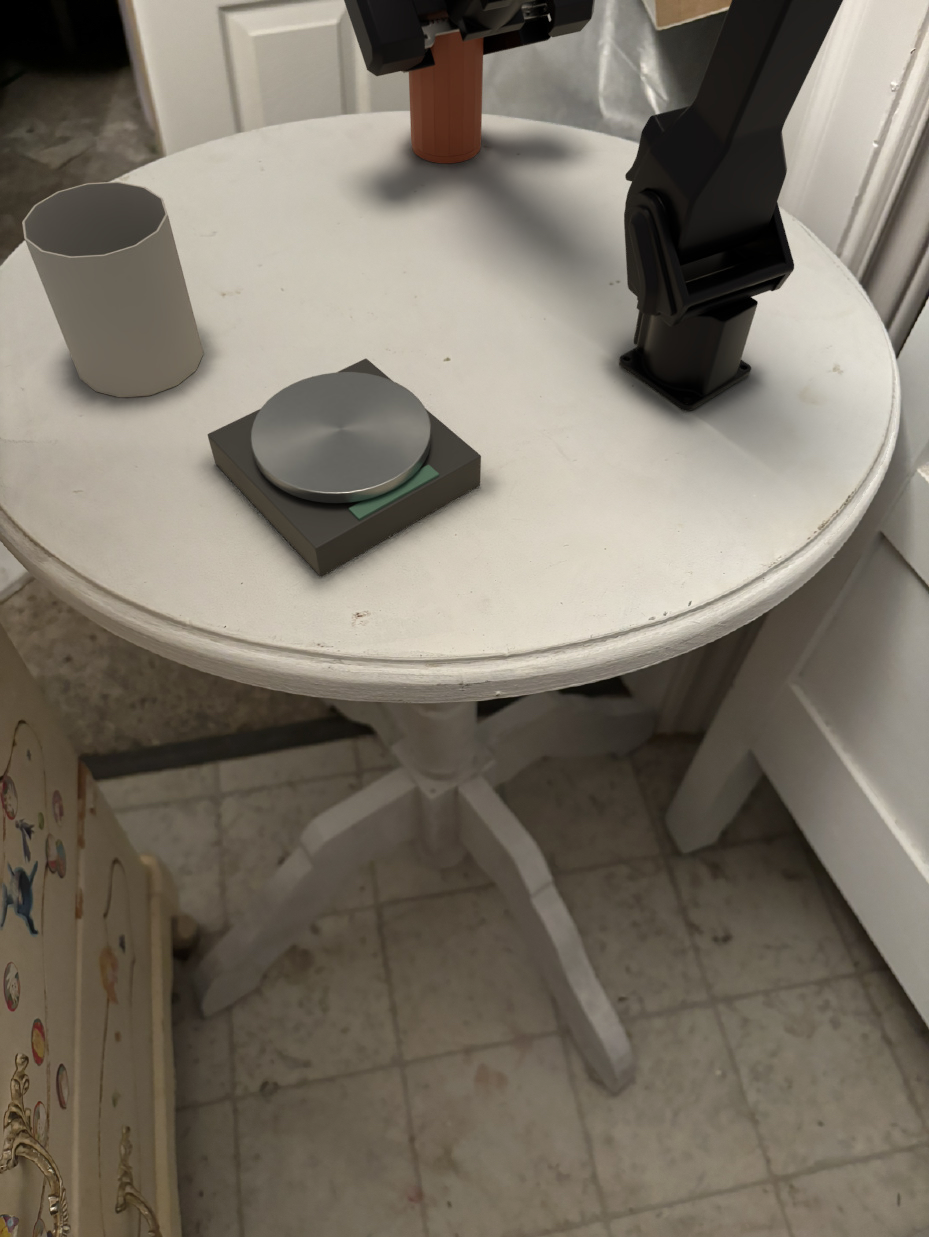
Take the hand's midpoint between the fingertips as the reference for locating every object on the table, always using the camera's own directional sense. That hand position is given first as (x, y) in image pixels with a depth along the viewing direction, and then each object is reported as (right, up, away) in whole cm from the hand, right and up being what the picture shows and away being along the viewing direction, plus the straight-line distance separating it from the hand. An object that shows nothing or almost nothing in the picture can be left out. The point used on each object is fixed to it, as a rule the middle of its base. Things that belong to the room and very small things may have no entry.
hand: (438, 58), depth 77 cm
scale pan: (-5, -36, -22) cm, 42 cm away
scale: (-5, -37, -20) cm, 43 cm away
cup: (-20, -29, -13) cm, 37 cm away
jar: (+1, -5, +5) cm, 7 cm away
